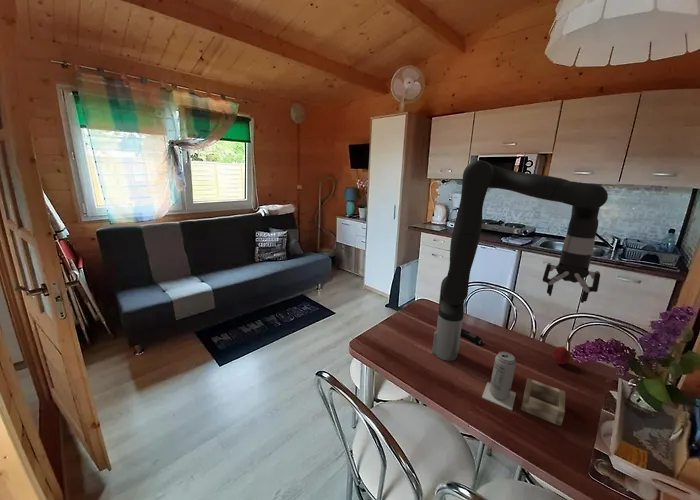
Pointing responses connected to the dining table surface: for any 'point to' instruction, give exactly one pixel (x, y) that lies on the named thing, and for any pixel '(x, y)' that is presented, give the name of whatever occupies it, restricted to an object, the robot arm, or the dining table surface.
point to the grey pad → (504, 403)
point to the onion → (561, 355)
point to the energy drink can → (502, 375)
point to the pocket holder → (541, 407)
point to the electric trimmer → (471, 337)
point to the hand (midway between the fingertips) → (565, 298)
